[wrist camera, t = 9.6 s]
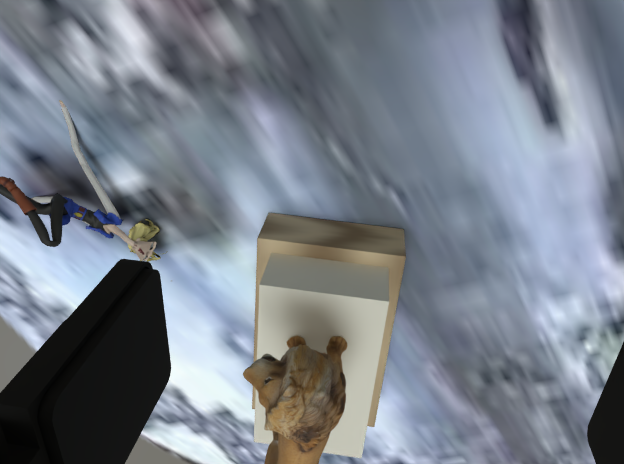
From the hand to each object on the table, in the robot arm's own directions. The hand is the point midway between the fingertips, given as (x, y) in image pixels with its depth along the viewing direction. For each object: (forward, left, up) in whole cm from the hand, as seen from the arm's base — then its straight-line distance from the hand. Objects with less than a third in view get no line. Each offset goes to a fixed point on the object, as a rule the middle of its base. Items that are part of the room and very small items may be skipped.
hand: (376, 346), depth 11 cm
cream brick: (+2, +18, -22) cm, 29 cm away
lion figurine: (+3, +18, -18) cm, 26 cm away
